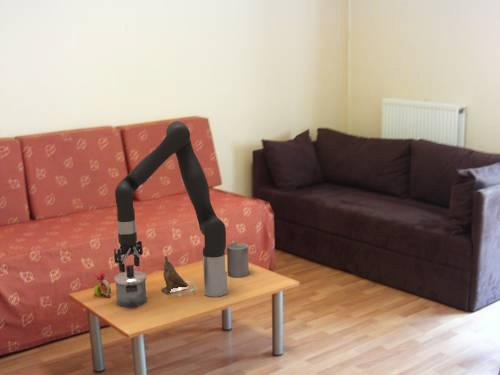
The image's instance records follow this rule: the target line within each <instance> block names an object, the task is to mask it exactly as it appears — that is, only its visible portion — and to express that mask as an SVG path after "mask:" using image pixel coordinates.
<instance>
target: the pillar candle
mask: <svg viewBox="0 0 500 375" xmlns="http://www.w3.org/2000/svg"><path fill="white" fill-rule="evenodd" d="M226 257H227V258H226V259H227V261H226V264H227V277H228V276H229V277H230V278H234V279H235V278H237V279H240V278H245V277H247V276H249V272H250V271H249V270H250V268H249V245H248V244H247V243H245V242H232V243H229V244H226Z"/></svg>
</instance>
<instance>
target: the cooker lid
mask: <svg viewBox="0 0 500 375" xmlns="http://www.w3.org/2000/svg"><path fill="white" fill-rule="evenodd" d="M134 269H135V268H134V264H127V265H125V272H124V273H123V272H119V273H117V274H116V275H115V276H114V278H113V279H114V282H116V283H118V284H136V283H140V282H143V281H145V282H146V280H147V273H145V272H143V271H139V270H138V271H137V270H134ZM116 283H115V284H116Z"/></svg>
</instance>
